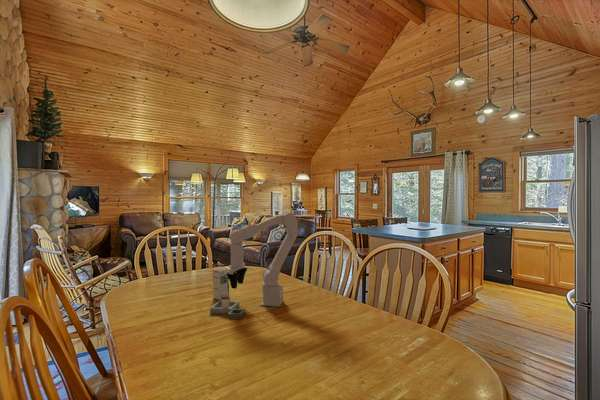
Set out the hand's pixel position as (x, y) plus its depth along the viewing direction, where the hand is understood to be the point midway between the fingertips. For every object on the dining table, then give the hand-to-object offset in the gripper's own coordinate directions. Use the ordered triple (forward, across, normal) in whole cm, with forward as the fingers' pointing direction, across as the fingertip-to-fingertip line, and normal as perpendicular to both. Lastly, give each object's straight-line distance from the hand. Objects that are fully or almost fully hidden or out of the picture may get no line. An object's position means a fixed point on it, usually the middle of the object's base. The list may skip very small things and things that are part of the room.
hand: (237, 285), depth 142 cm
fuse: (+9, +6, -4) cm, 11 cm away
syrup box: (+10, -10, -13) cm, 19 cm away
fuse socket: (+9, +11, +4) cm, 15 cm away
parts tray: (+9, +6, -4) cm, 12 cm away
